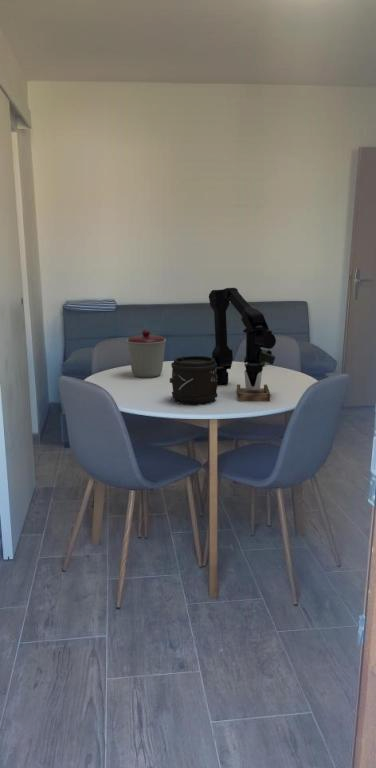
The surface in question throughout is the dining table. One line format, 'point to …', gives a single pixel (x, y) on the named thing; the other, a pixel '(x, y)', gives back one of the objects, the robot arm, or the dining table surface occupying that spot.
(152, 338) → the canister
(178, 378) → the black ribbed pot
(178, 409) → the dining table surface
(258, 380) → the shot glass
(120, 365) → the dining table surface
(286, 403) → the dining table surface
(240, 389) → the tray
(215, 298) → the robot arm
